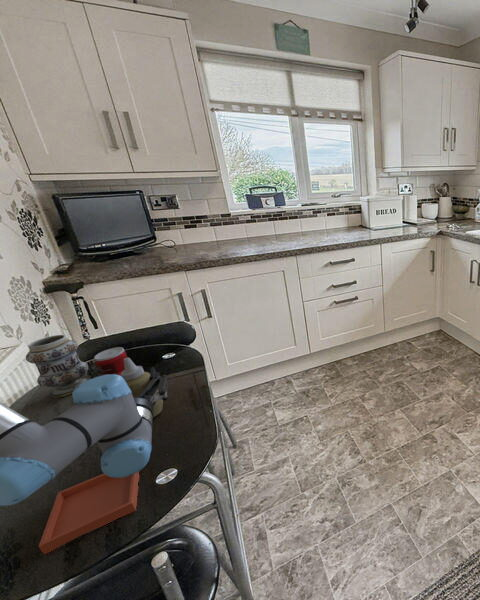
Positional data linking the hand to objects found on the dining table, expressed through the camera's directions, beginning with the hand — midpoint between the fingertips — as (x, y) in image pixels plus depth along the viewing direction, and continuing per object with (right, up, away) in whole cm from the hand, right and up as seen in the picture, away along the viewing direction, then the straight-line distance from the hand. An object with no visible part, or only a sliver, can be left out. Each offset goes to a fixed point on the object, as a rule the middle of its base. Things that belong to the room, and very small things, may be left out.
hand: (138, 376), depth 92 cm
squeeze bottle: (+4, -11, 0) cm, 11 cm away
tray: (+13, -20, -26) cm, 36 cm away
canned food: (-20, -6, +18) cm, 28 cm away
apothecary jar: (-36, -8, +16) cm, 40 cm away
